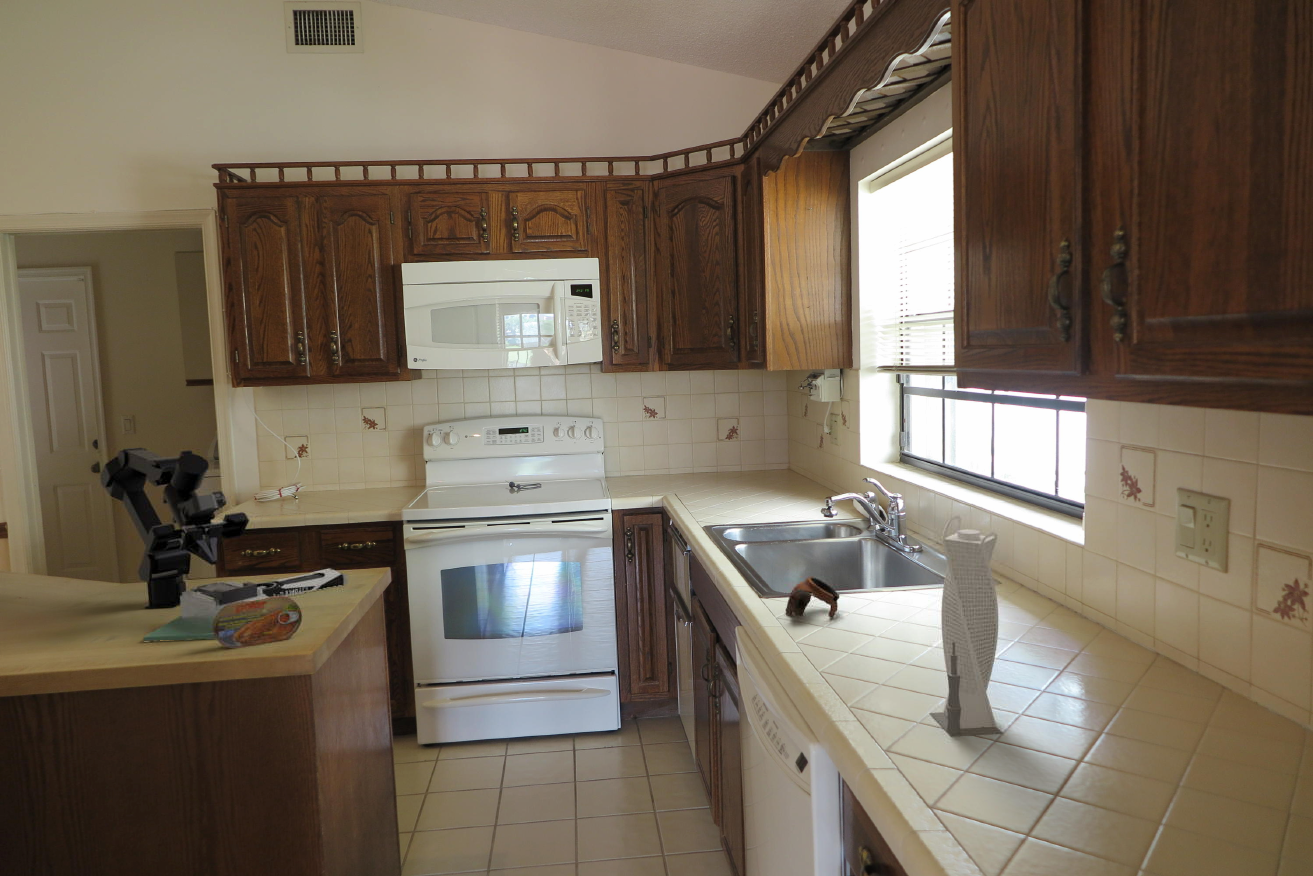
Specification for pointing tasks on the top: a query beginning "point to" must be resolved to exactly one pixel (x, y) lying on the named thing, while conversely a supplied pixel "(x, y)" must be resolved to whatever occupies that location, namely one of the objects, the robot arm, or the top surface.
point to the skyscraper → (968, 632)
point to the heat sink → (215, 602)
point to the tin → (257, 621)
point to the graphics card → (303, 583)
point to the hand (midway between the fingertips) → (214, 563)
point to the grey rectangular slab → (212, 588)
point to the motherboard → (180, 631)
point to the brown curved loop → (802, 596)
